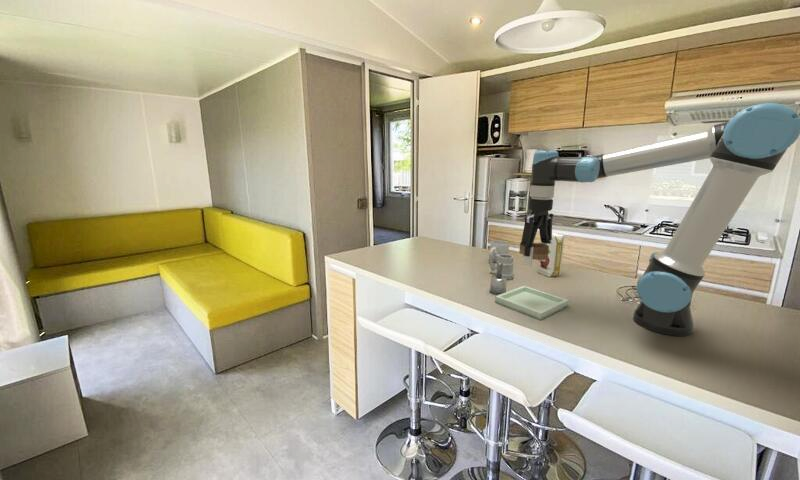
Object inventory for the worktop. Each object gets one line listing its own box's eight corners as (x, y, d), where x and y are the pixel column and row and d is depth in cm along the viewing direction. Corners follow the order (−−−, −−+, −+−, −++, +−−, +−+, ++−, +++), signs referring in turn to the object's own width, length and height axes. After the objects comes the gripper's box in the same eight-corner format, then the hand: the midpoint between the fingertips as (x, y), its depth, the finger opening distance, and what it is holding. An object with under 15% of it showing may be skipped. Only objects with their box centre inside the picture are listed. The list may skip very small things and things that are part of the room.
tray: (568, 306, 122) (568, 300, 121) (540, 320, 111) (541, 313, 111) (523, 291, 136) (523, 285, 135) (495, 302, 125) (495, 296, 124)
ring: (552, 257, 119) (553, 246, 118) (539, 261, 114) (540, 249, 113) (527, 251, 126) (528, 240, 125) (514, 254, 121) (515, 243, 121)
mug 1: (495, 257, 183) (496, 239, 180) (510, 261, 176) (512, 242, 174) (482, 262, 174) (483, 243, 172) (497, 266, 168) (498, 246, 165)
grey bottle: (508, 292, 134) (511, 263, 131) (499, 296, 130) (501, 266, 128) (496, 288, 139) (498, 260, 136) (486, 291, 135) (488, 262, 132)
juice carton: (549, 270, 161) (553, 231, 157) (562, 276, 153) (567, 235, 149) (536, 272, 159) (539, 232, 155) (549, 278, 151) (553, 236, 147)
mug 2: (506, 281, 147) (508, 254, 144) (484, 274, 156) (485, 249, 153) (516, 277, 151) (518, 251, 149) (494, 271, 160) (496, 246, 158)
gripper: (547, 195, 124) (541, 255, 129) (513, 199, 111) (507, 265, 117) (567, 197, 118) (560, 260, 123) (533, 201, 106) (527, 271, 111)
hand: (534, 262), depth 120 cm, fingers closed on ring, 8 cm apart
